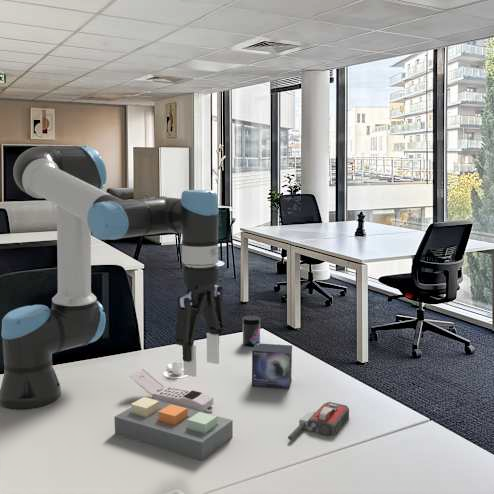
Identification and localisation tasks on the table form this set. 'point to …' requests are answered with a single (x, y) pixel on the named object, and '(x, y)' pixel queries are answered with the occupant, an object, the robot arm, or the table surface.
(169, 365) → the white candle holder
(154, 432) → the button console
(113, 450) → the table surface
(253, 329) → the supplement container
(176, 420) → the orange button
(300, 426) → the walkie-talkie
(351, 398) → the table surface
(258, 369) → the small box
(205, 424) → the sage button
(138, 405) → the sand button
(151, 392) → the mobile phone
